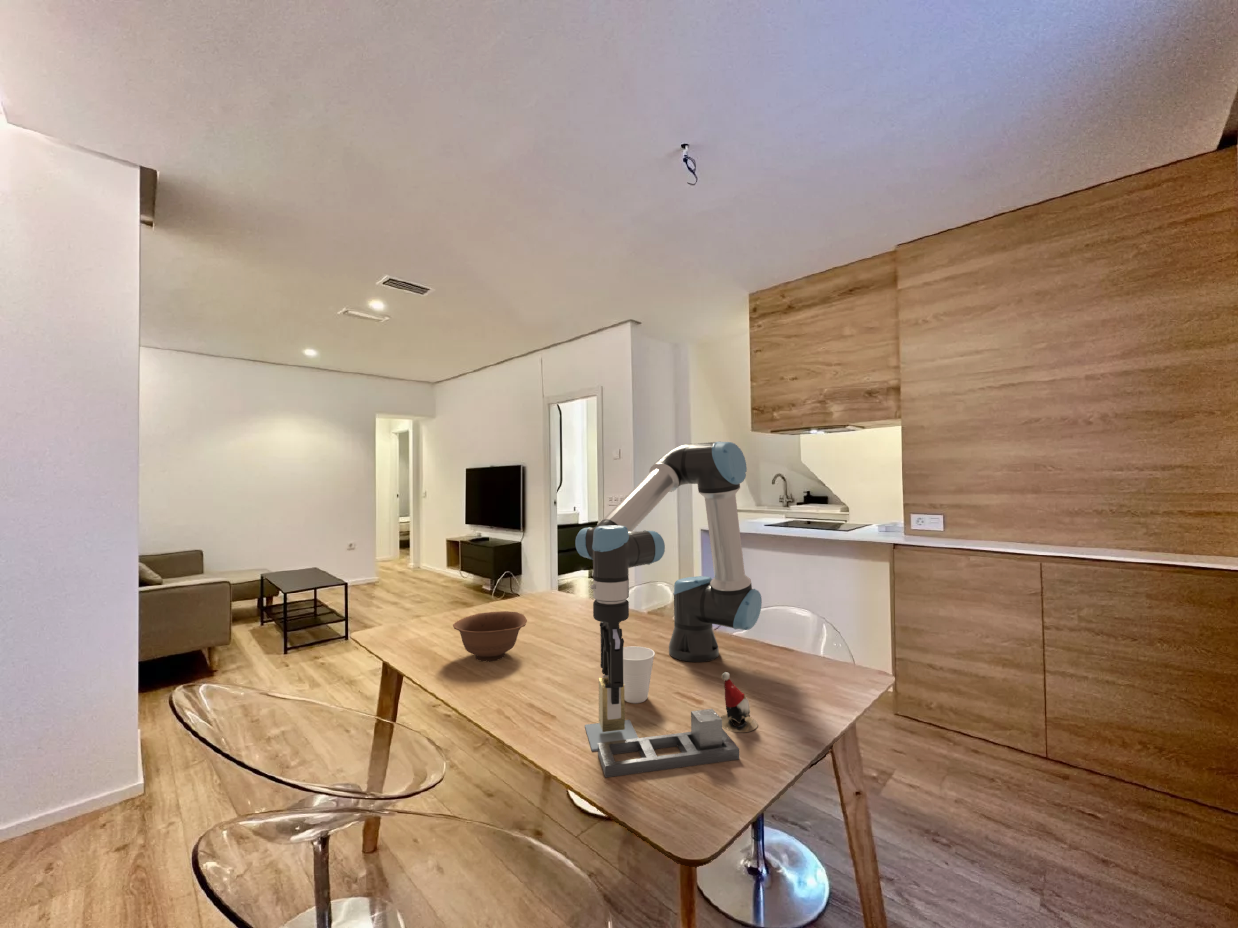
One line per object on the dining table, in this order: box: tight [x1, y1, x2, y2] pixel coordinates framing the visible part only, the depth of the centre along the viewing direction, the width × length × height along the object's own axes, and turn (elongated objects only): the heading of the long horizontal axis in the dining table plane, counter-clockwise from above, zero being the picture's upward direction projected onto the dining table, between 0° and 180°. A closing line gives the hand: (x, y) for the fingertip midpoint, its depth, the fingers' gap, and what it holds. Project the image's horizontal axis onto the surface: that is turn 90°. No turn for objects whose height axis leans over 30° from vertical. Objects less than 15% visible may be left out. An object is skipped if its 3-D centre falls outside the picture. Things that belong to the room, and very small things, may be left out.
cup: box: [623, 645, 656, 704], centre depth 120 cm, size 10×10×11 cm
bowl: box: [452, 610, 528, 663], centre depth 150 cm, size 22×22×11 cm
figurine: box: [719, 671, 759, 734], centre depth 107 cm, size 8×10×12 cm
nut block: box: [598, 677, 626, 732], centre depth 103 cm, size 5×5×9 cm
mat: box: [584, 719, 639, 752], centre depth 102 cm, size 10×10×1 cm
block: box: [690, 708, 723, 751], centre depth 96 cm, size 5×5×7 cm
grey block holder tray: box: [597, 728, 740, 778], centre depth 94 cm, size 26×8×2 cm, turn 102°
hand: (611, 711), depth 102 cm, fingers closed on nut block, 5 cm apart
